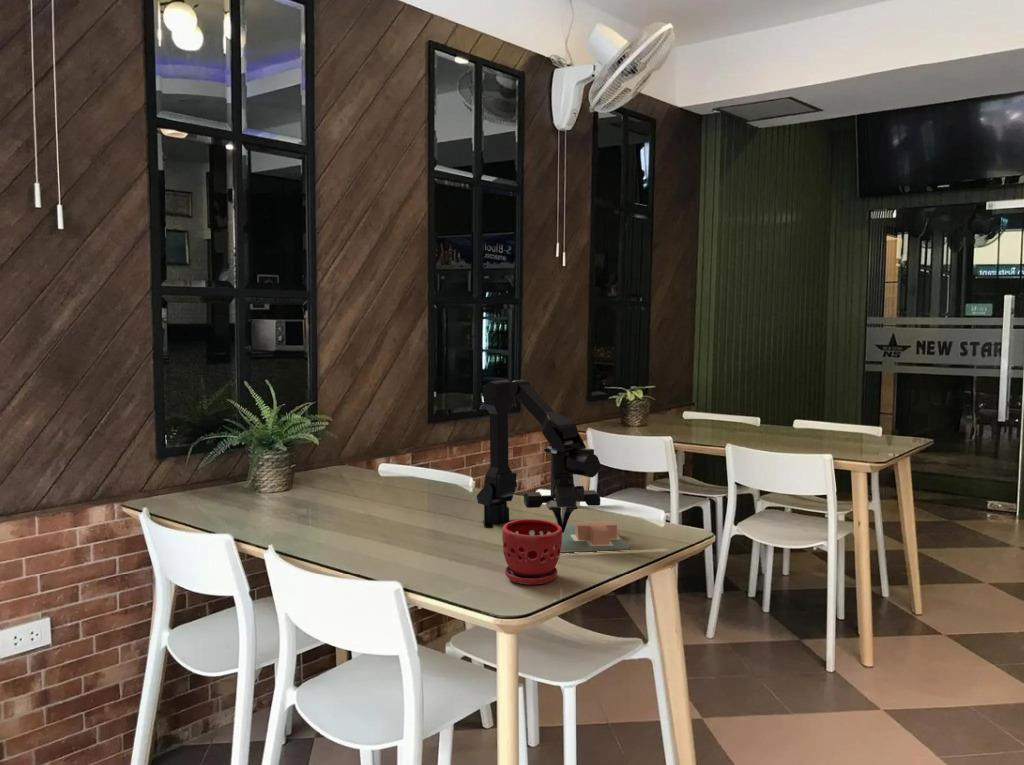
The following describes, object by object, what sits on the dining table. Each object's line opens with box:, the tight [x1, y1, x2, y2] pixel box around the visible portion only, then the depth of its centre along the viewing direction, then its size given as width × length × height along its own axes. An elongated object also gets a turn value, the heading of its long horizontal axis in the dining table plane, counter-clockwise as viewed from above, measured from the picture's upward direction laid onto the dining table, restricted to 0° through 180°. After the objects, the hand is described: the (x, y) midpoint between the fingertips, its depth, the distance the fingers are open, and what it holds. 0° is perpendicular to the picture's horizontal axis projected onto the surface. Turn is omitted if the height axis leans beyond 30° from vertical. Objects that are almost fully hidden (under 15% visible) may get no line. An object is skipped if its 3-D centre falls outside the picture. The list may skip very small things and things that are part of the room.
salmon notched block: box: [574, 520, 618, 545], centre depth 215 cm, size 10×9×4 cm
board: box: [529, 523, 631, 554], centre depth 218 cm, size 23×24×1 cm
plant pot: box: [501, 518, 562, 586], centre depth 187 cm, size 13×13×12 cm
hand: (561, 532), depth 214 cm, fingers closed
